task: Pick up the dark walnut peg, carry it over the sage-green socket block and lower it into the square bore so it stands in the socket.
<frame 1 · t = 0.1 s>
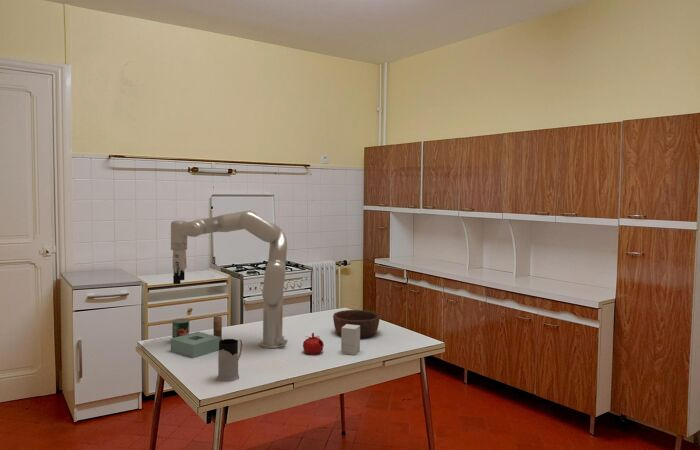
hand: (179, 281, 256), 31 cm above the table, tool pointing down, fingers open, 9 cm apart
pomegranate: (313, 352, 252), on the table
walnut peg: (217, 340, 267), on the table
supplement box: (350, 352, 254), on the table
canned tomato: (180, 342, 263), on the table
grey pitcher: (231, 376, 219), on the table
socket block: (195, 350, 251), on the table
wooden bowl: (356, 334, 287), on the table
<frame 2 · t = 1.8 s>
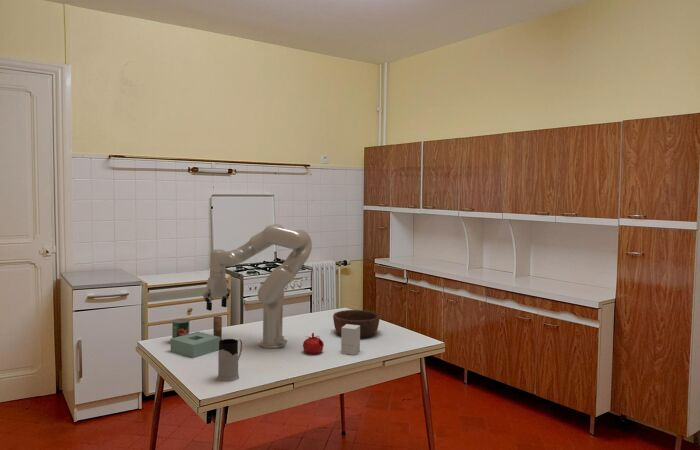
hand: (216, 308, 266), 16 cm above the table, tool pointing down, fingers open, 9 cm apart
nothing on the table moved.
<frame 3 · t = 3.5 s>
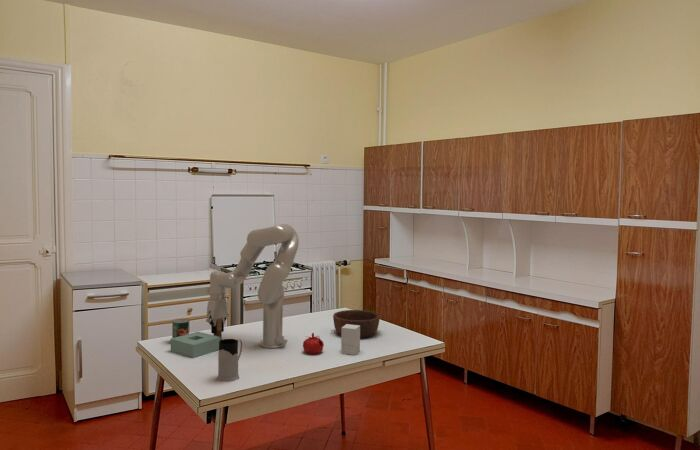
hand: (217, 332, 267), 5 cm above the table, tool pointing down, fingers closed on walnut peg, 4 cm apart
walnut peg: (217, 340, 267), on the table, touching gripper
everything else where it was.
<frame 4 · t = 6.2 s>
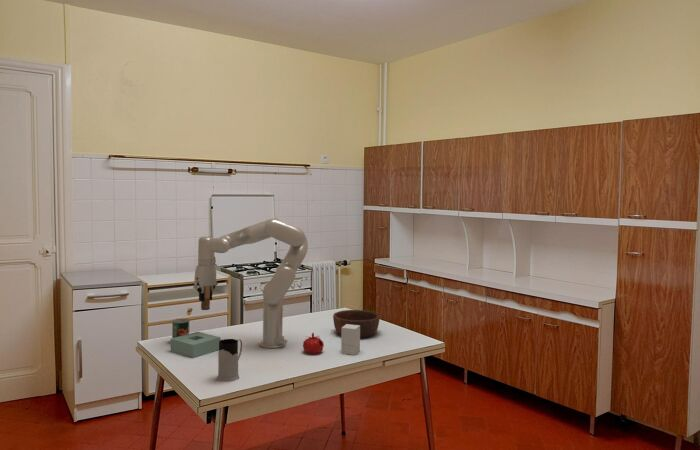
hand: (205, 299, 257), 23 cm above the table, tool pointing down, fingers closed on walnut peg, 4 cm apart
walnut peg: (205, 309, 257), point 18 cm above the table, touching gripper
everything else where it was.
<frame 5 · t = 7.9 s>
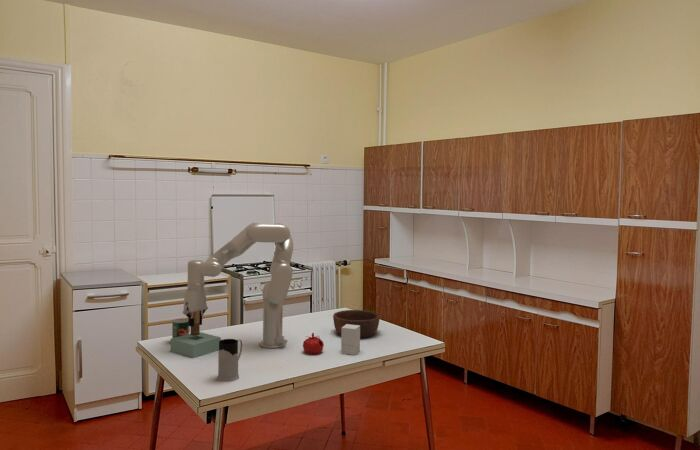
hand: (195, 325, 250), 12 cm above the table, tool pointing down, fingers closed on walnut peg, 4 cm apart
walnut peg: (195, 334, 250), point 8 cm above the table, touching gripper
everything else where it was.
when the fingers open (7 cm above the table, at t = 9.3 s): walnut peg drops 2 cm, resting on socket block.
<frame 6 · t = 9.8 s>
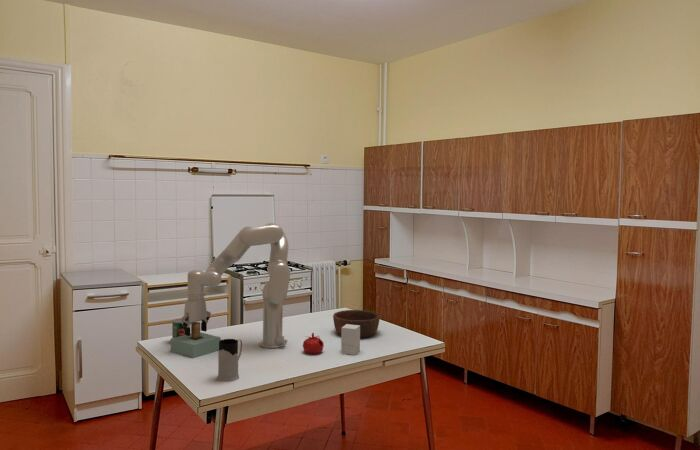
hand: (195, 333, 250), 8 cm above the table, tool pointing down, fingers open, 9 cm apart
walnut peg: (195, 348, 251), point 1 cm above the table, touching socket block
everything else where it was.
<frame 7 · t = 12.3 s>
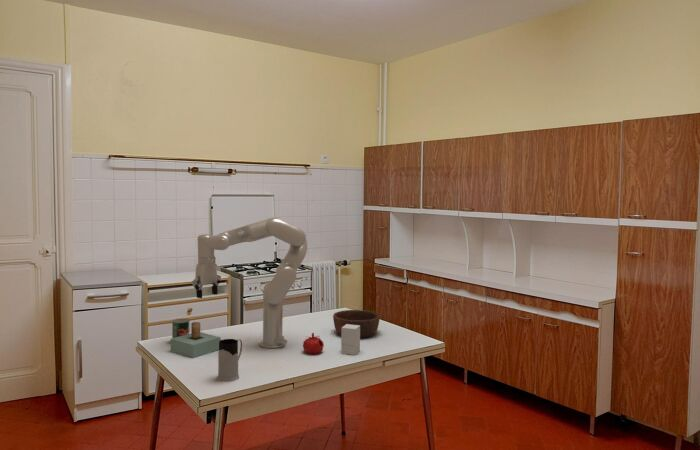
hand: (207, 295, 255), 25 cm above the table, tool pointing down, fingers open, 9 cm apart
nothing on the table moved.
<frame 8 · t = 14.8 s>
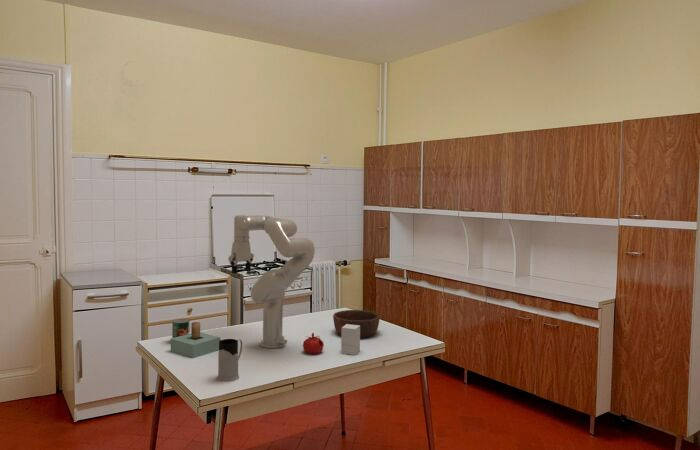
hand: (241, 272, 275), 33 cm above the table, tool pointing down, fingers open, 9 cm apart
nothing on the table moved.
at the end: walnut peg 0.1 cm off-centre on the socket block, point 1.0 cm above the socket block's base; walnut peg tilted 0°; the gripper is holding nothing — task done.
